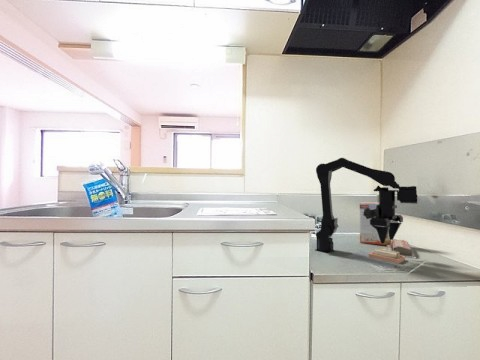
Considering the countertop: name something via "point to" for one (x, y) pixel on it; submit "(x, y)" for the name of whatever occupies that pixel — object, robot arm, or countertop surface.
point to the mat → (369, 259)
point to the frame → (387, 258)
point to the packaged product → (401, 248)
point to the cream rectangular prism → (387, 253)
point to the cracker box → (370, 227)
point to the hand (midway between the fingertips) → (387, 241)
